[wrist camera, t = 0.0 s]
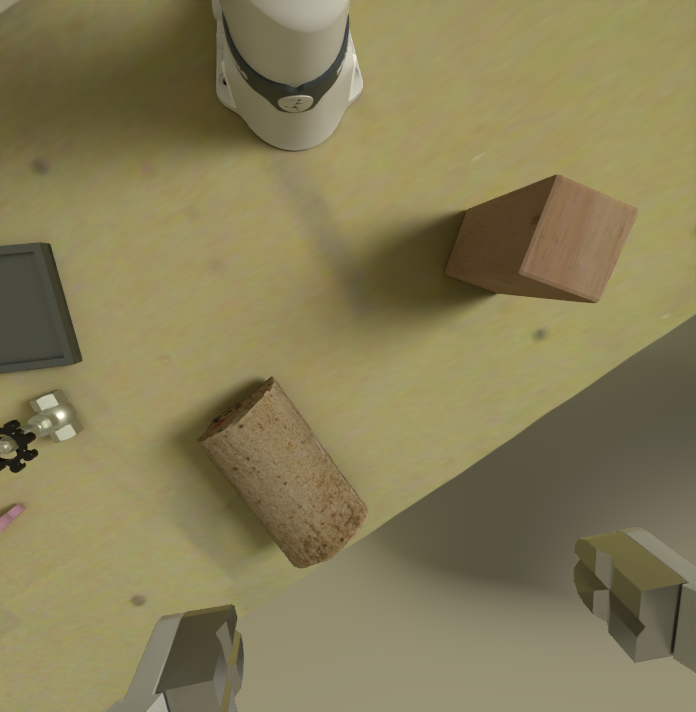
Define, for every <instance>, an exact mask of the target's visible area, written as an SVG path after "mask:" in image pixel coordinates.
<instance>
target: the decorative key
mask: <svg viewBox="0 0 696 712" xmlns="http://www.w3.org/2000/svg"><path fill="white" fill-rule="evenodd" d="M24 510H25V508H24V507H23V506H21V505H20V504H17V505H16V506H15V507H13V508H12V509H11V510H10V511H9V512H7V513H6V514H4V515H3V516H2V517H1V518H0V532H1V531H2V530H3V529H4V528H5V527H6V526H7V525H8V524H9V523H11V522H12V521H13V520H14V519H15V518H16V517H17V516H18V515H19V514H20V513H22V512H23V511H24Z"/></svg>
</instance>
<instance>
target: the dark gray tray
mask: <svg viewBox="0 0 696 712" xmlns="http://www.w3.org/2000/svg"><path fill="white" fill-rule="evenodd" d="M81 361H83V360H82V357H81V353H80V349H79V346H78V342H77V339H76V335H75V332H74V328H73V324H72V321H71V317H70V314H69V310H68V306H67V303H66V299H65V296H64V292H63V288H62V285H61V281H60V278H59V274H58V271H57V267H56V263H55V260H54V256H53V253H52V249H51V245H50V244H47V243H29V244H18V245H8V246H0V373H5V372H14V371H22V370H30V369H38V368H46V367H54V366H62V365H71V364H76V363H78V362H81Z"/></svg>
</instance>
